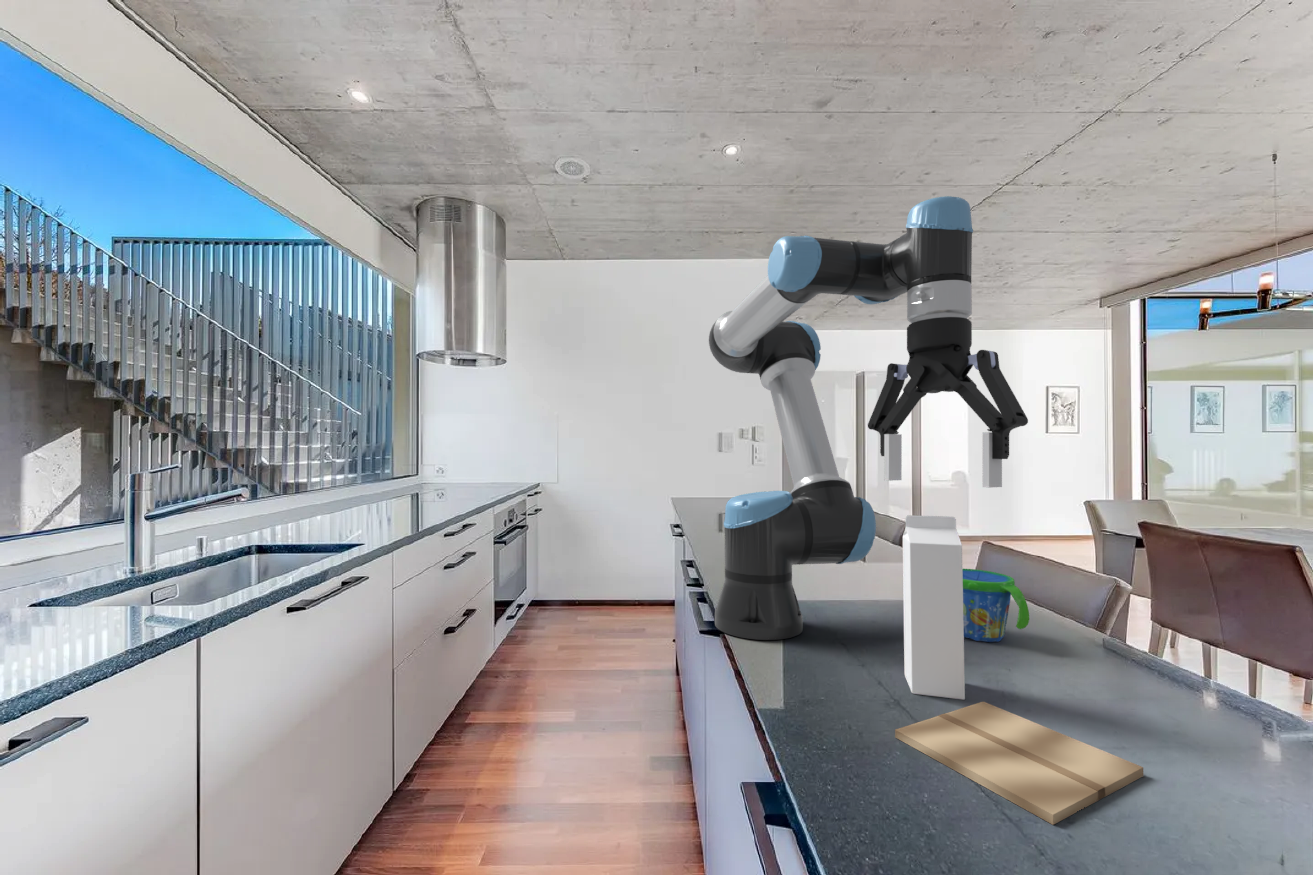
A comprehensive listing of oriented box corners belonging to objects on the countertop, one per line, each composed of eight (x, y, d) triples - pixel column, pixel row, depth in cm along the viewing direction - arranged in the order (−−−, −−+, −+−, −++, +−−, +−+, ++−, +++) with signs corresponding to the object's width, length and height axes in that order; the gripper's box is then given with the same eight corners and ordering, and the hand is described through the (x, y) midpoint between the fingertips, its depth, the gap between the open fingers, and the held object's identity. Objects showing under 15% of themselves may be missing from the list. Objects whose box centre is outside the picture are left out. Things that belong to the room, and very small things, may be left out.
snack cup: (1047, 648, 83) (1046, 582, 84) (995, 655, 80) (994, 587, 80) (963, 619, 98) (962, 563, 98) (916, 624, 95) (915, 567, 95)
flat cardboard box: (895, 737, 56) (895, 729, 56) (983, 708, 63) (983, 700, 63) (1053, 824, 43) (1052, 814, 43) (1143, 776, 50) (1143, 766, 50)
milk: (904, 676, 73) (901, 513, 74) (954, 681, 71) (950, 514, 72) (912, 694, 67) (908, 517, 68) (966, 700, 65) (961, 518, 66)
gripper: (843, 335, 79) (842, 478, 79) (1026, 293, 57) (1027, 491, 57) (877, 340, 83) (876, 477, 82) (1062, 303, 61) (1062, 489, 61)
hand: (938, 483), depth 70 cm, fingers open, 13 cm apart
